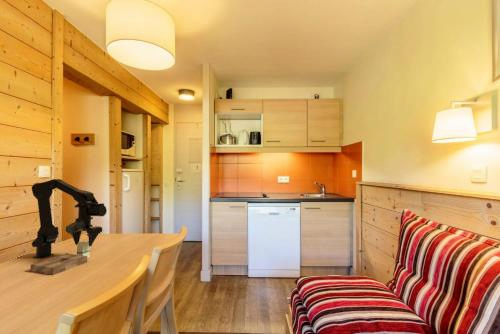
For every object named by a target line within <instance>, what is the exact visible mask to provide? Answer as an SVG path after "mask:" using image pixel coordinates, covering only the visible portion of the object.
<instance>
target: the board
mask: <svg viewBox="0 0 500 334" xmlns="http://www.w3.org/2000/svg"><path fill="white" fill-rule="evenodd" d="M86 263H88V258H87V256H82V255H77V254H72V253H63V254H60V255H57V256H53V257H51V258H47V259H45V260H44V259H43V260H40V261H37V262H34V263H31V264H30V272H32V273H38V274H45V275H52V276H54V275H57V274H59V273H60V274H61V273H63V272H66V271H68V270H70V269H73V268H75V267H79V266H81V265H84V264H86Z"/></svg>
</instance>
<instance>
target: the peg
mask: <svg viewBox="0 0 500 334" xmlns="http://www.w3.org/2000/svg"><path fill="white" fill-rule="evenodd" d="M76 255H82V256H87V259H88V258H90V256H91V246H90V247H89V241H87V240H84V241H83V240H82V241H81V242H80V241H79V243H77V245H76Z"/></svg>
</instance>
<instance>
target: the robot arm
mask: <svg viewBox="0 0 500 334" xmlns="http://www.w3.org/2000/svg"><path fill="white" fill-rule="evenodd" d="M56 189H57V190H59V191H61V192H63V193H66V194H67V195H69V196H71V197H72V198H73V200H74V201H75V202H77V204H76V205H74V208H78V211H77V212H78V214H77V218H75V219H74V220H75V221H74V222H72V223H70V224H68V225H66V226H65V232H67V234H69V235H71V236H72V239H73V242H74V244H75V245H76V246H77V243H80V239H81V235H82V232H86V233H87V234H86V236H87V238H88V242H89V247H90V248H91V247H92V246H93V244H94V242H95V240H96V238H97V237H98V236H99V235H100V234H101V233H103V227H102V226H97V225H95V226H94V225H93V224H92V220H93V219H94V217H104V216H105V215H106V214H107V210H108V209H107V207H106V205H105V203H99V202H98V200H97V199H96V197H95V196H94V195H95V194H94V193H93V192H91V191H88V190H82V189H79V188H78V187H76V186H74V185H72V184H69V183H67V182H66V181H64V180H62V179H61V178H52V179H50V180H47V181H43V182H36V183H33V185H31V191H32V192H31V193H32V195H33V197H34V198H35V199H36V201H37V205H38V206H37V207H38V214H39V215H38V216H39V224H40V225H39V226H40V227H39V228H38V231H37V234H36V235H37V236H36V238H35V239H34V240H33V241H32V242H31V247H32V248H36V249H35V255H34V256H32V258H34V259H40V260H41V259H45V258H48V257H52V256H54V255H55V254H54V253H52V244H55V243H56V240H57V239H58V238H59V234H60V232H59V227H58V226H55V225H54V224H53V217H52V208H51V197H52V195H53V190H56Z"/></svg>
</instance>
